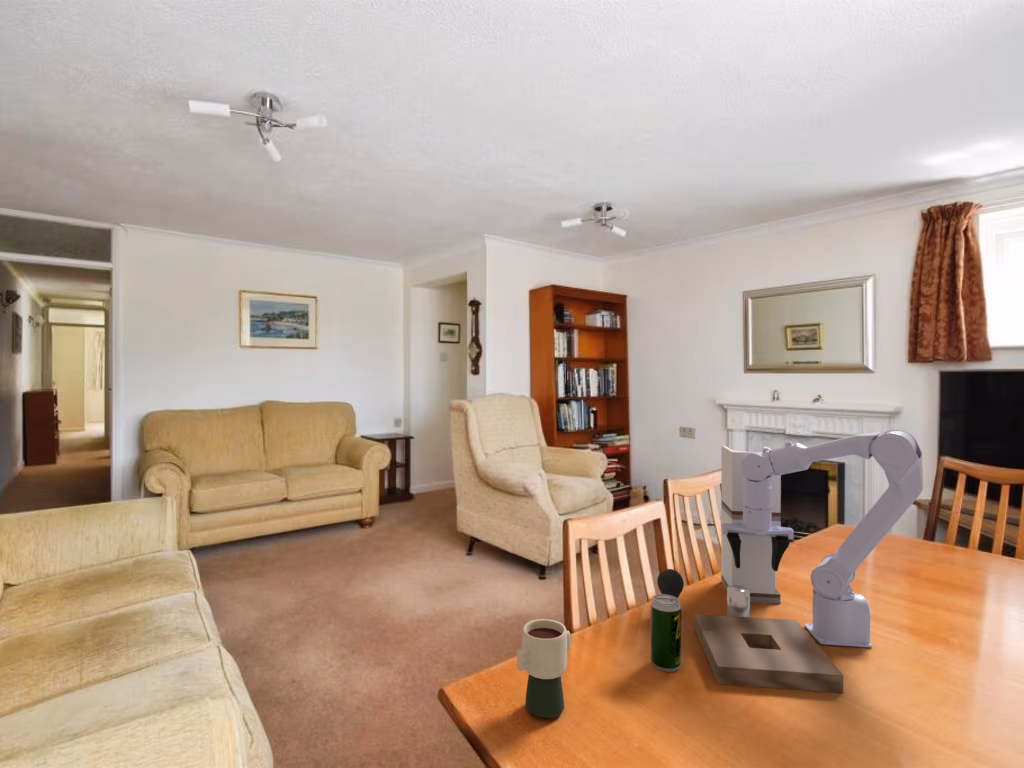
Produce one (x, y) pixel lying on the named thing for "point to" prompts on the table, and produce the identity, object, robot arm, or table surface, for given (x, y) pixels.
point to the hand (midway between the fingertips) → (755, 568)
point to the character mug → (544, 665)
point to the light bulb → (670, 582)
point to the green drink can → (666, 632)
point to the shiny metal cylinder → (738, 601)
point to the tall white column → (753, 548)
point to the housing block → (765, 654)
